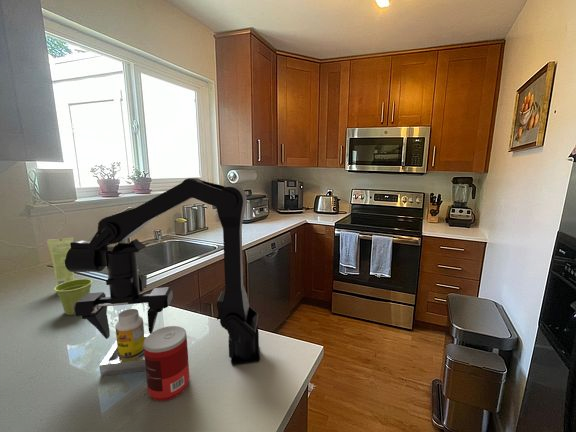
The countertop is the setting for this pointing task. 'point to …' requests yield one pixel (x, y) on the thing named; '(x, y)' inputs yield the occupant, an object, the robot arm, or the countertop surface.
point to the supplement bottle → (130, 334)
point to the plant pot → (72, 293)
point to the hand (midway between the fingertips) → (129, 335)
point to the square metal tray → (121, 363)
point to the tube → (60, 259)
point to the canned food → (166, 362)
